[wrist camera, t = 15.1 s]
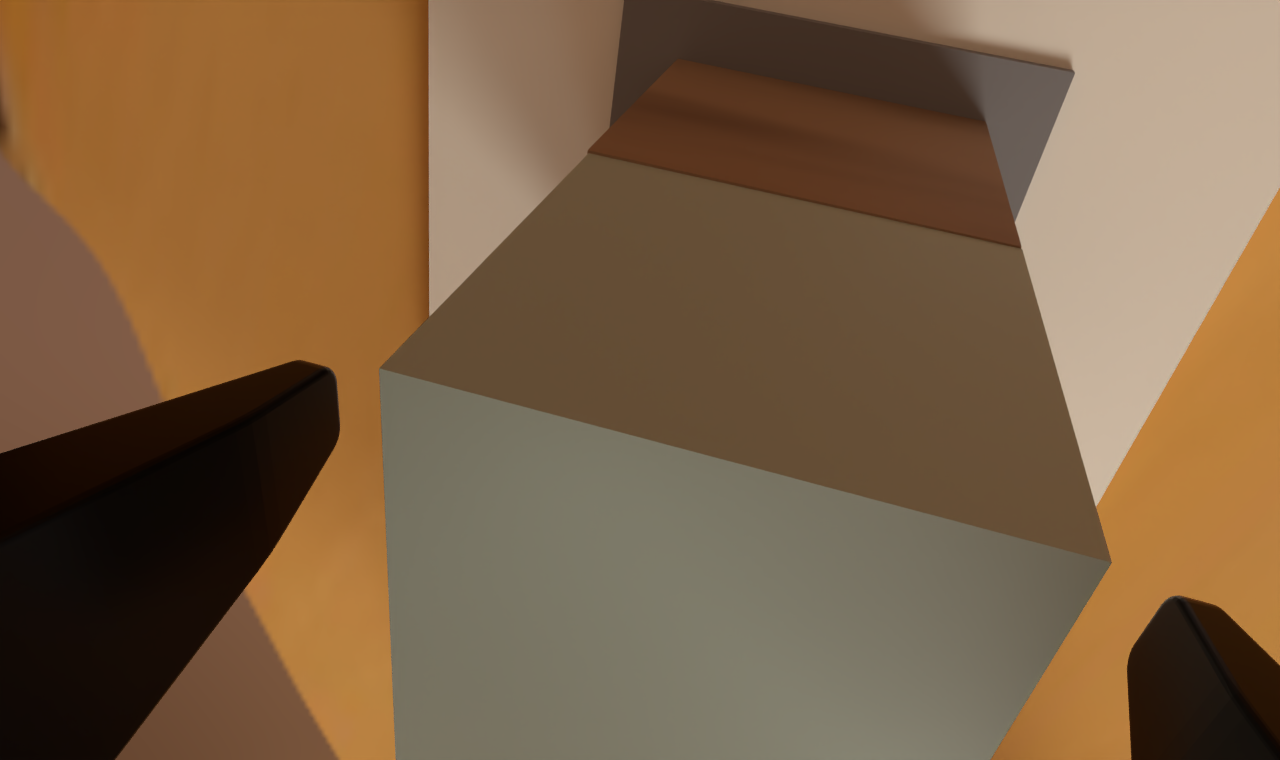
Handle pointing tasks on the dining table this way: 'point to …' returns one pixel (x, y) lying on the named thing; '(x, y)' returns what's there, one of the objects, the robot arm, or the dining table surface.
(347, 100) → the dining table surface
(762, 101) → the walnut block
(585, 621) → the grey-green block
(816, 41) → the white flat plate
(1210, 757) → the robot arm
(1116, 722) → the dining table surface
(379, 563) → the dining table surface
